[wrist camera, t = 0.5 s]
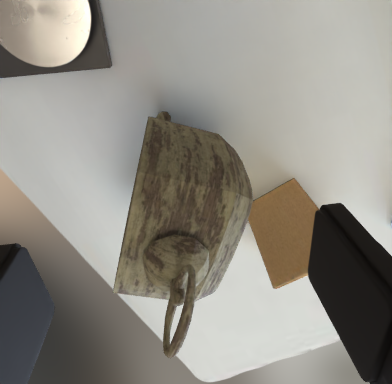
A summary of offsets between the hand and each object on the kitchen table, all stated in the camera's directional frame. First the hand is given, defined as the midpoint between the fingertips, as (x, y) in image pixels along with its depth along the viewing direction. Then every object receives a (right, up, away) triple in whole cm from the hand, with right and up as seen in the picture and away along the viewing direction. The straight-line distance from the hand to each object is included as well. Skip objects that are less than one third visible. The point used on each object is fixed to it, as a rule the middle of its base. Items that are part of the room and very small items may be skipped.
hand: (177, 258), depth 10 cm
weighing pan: (-14, +18, +17) cm, 29 cm away
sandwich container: (+15, -3, +36) cm, 39 cm away
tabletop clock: (-2, +6, +29) cm, 30 cm away
